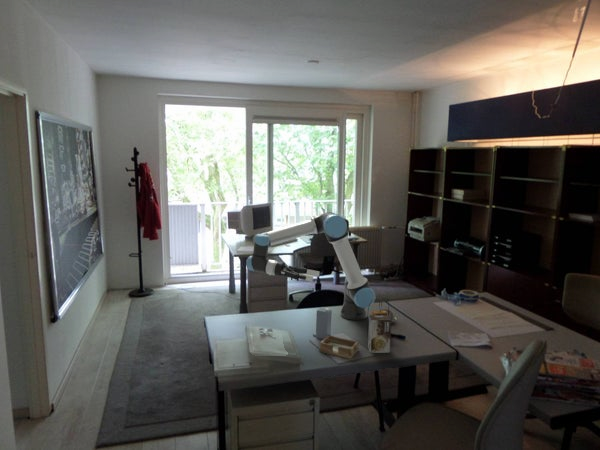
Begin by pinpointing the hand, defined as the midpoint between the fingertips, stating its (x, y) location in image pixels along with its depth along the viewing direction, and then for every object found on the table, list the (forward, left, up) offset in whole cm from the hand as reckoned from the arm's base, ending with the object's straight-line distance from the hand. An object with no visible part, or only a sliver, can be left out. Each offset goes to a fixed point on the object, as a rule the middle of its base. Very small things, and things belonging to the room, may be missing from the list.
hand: (316, 276), depth 210 cm
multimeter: (-13, +32, -31) cm, 46 cm away
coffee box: (+1, +34, -31) cm, 46 cm away
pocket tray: (+11, +18, -31) cm, 37 cm away
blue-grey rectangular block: (-1, +5, -31) cm, 31 cm away
